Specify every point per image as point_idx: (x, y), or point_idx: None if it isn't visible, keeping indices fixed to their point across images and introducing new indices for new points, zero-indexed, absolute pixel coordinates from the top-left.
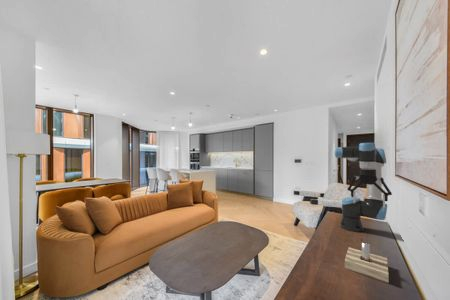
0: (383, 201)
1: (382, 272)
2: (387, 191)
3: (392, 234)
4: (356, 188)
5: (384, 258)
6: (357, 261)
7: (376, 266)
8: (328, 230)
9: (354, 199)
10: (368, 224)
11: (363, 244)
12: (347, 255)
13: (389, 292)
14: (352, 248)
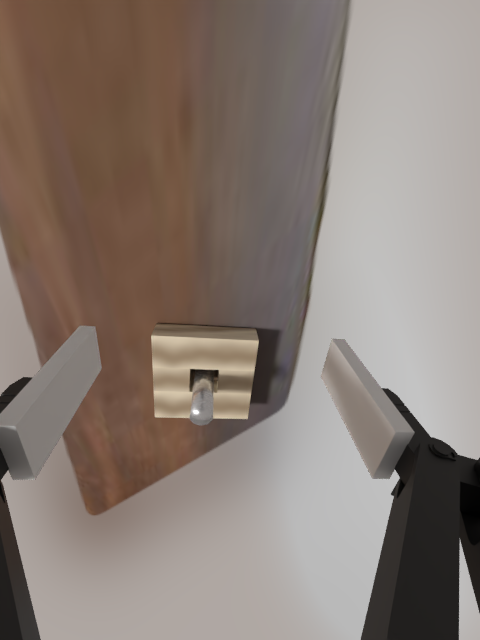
0: (343, 416)
1: (236, 418)
2: (465, 549)
3: None
4: (18, 562)
5: (251, 346)
6: (184, 406)
7: (226, 402)
8: (2, 72)
9: (81, 393)
10: None
11: (195, 423)
12: (157, 390)
13: (242, 426)
14: (163, 336)
